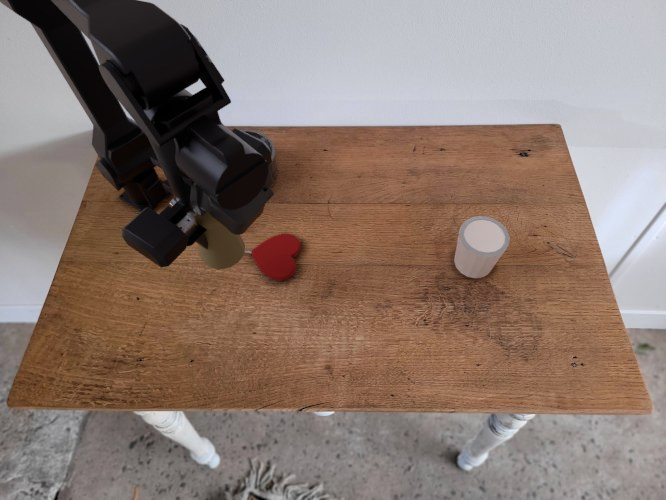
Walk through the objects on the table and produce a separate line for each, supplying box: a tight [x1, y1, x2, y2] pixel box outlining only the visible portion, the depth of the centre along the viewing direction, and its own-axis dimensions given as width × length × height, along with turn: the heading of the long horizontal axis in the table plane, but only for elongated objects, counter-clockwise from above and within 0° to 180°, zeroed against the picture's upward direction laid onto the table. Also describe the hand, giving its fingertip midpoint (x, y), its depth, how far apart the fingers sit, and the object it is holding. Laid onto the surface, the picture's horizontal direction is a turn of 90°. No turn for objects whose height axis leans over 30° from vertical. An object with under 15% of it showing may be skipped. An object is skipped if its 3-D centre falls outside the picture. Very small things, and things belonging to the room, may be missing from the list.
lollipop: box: [244, 233, 302, 281], centre depth 73 cm, size 8×1×15 cm
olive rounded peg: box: [195, 212, 246, 270], centre depth 60 cm, size 6×6×11 cm
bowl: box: [241, 129, 279, 180], centre depth 81 cm, size 11×11×4 cm
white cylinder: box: [453, 215, 511, 279], centre depth 69 cm, size 7×7×7 cm
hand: (217, 234), depth 62 cm, fingers closed on olive rounded peg, 4 cm apart
